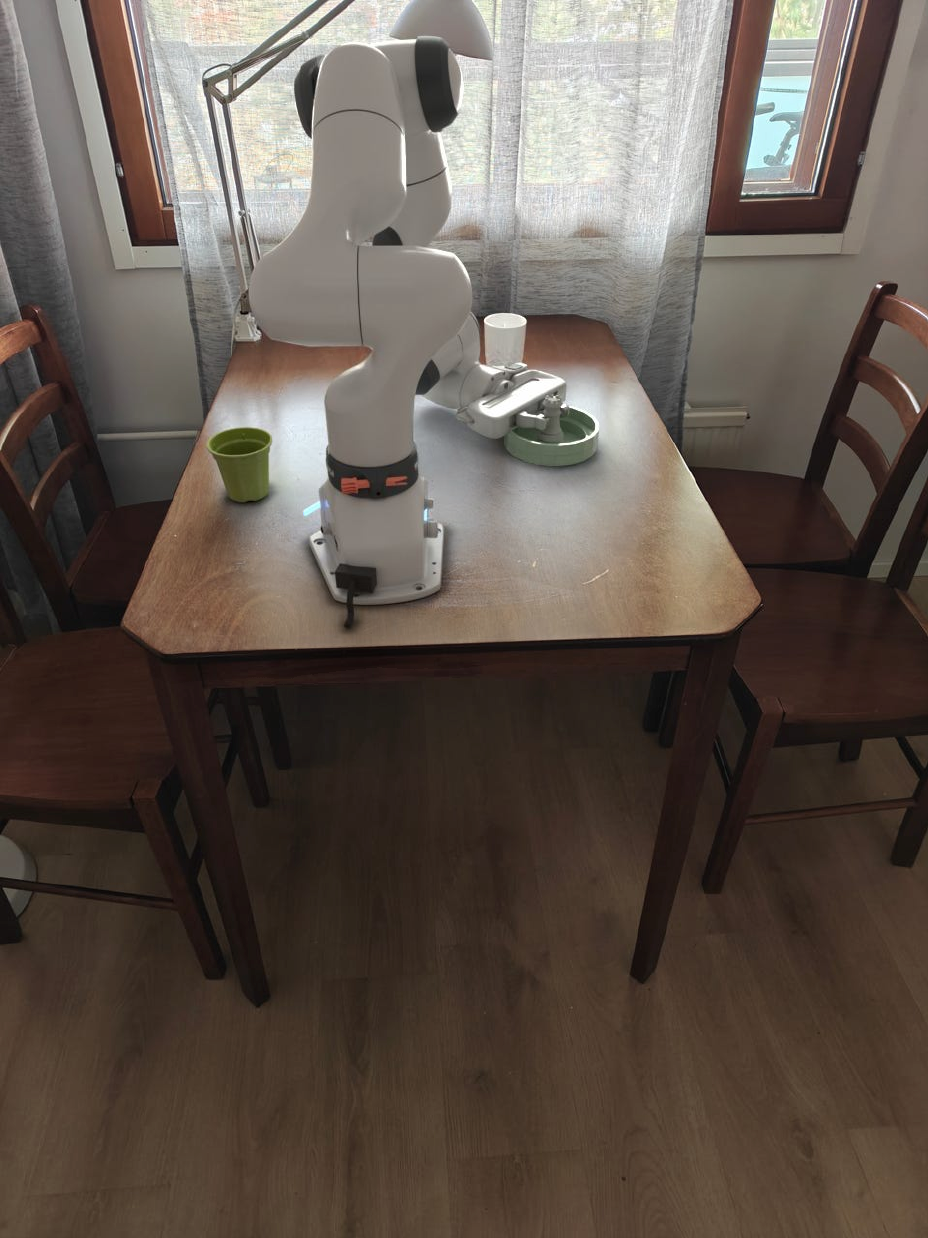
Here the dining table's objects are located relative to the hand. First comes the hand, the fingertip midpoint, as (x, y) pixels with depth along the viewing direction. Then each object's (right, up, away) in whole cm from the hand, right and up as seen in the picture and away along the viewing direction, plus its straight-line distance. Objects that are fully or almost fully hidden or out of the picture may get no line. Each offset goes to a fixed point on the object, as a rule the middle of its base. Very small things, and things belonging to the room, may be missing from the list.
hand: (557, 418), depth 141 cm
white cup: (-7, +15, +28) cm, 33 cm away
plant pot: (-48, -14, -8) cm, 50 cm away
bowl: (-1, -4, +4) cm, 5 cm away
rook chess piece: (-1, -4, +4) cm, 5 cm away
